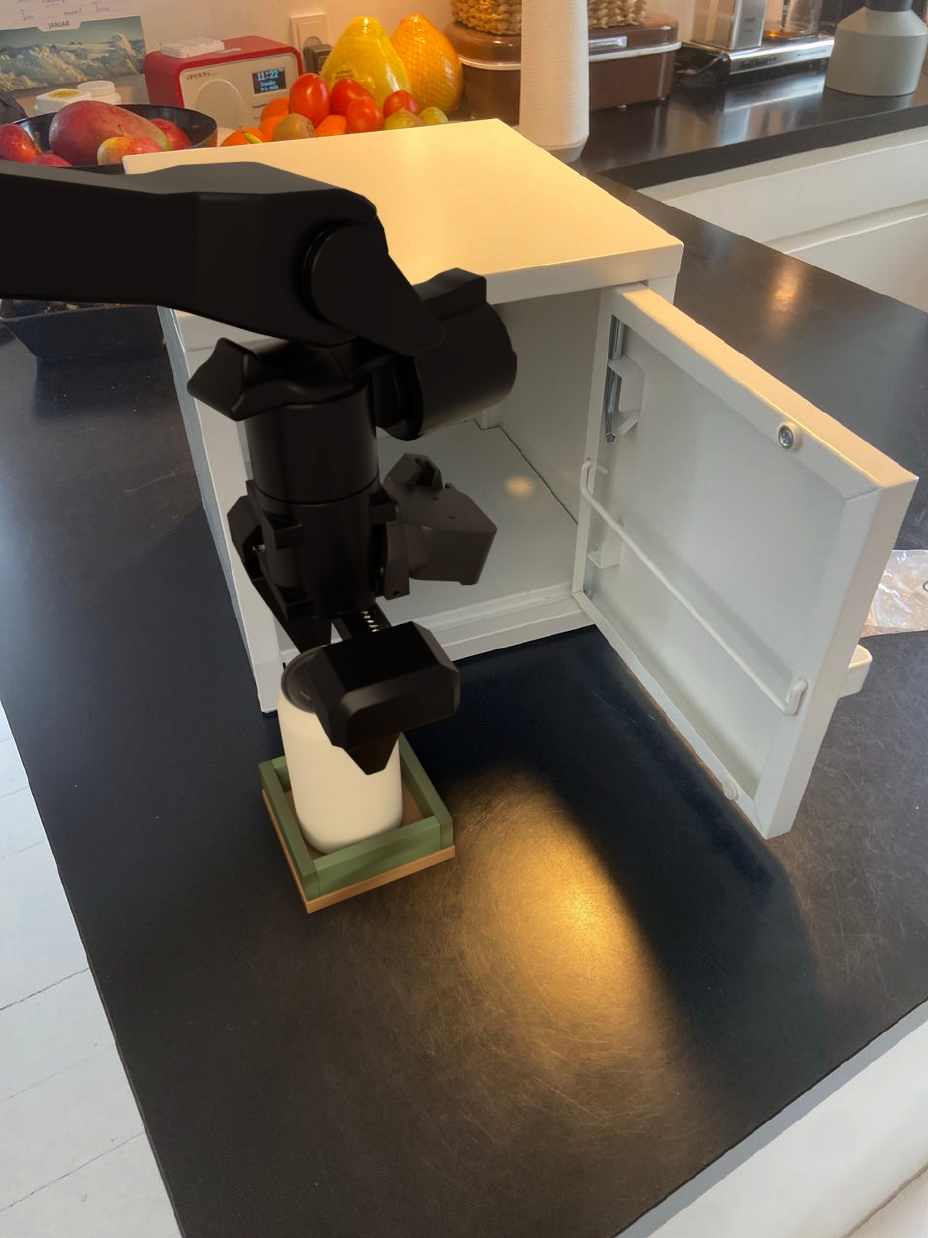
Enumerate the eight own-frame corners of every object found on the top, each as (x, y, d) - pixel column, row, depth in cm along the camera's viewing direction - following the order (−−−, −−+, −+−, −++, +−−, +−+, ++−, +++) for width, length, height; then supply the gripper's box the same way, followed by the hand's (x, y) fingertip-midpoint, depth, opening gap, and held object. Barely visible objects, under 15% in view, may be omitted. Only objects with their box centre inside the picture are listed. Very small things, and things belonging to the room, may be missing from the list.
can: (425, 812, 57) (417, 670, 50) (351, 880, 53) (331, 738, 46) (351, 763, 60) (334, 622, 53) (277, 824, 57) (247, 682, 49)
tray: (308, 914, 53) (301, 878, 51) (263, 799, 59) (255, 763, 57) (455, 856, 56) (455, 820, 54) (398, 753, 62) (395, 717, 60)
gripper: (573, 531, 38) (552, 782, 48) (402, 364, 51) (413, 588, 61) (315, 602, 34) (350, 859, 44) (203, 403, 47) (248, 634, 57)
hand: (345, 715), depth 52 cm, fingers open, 9 cm apart
